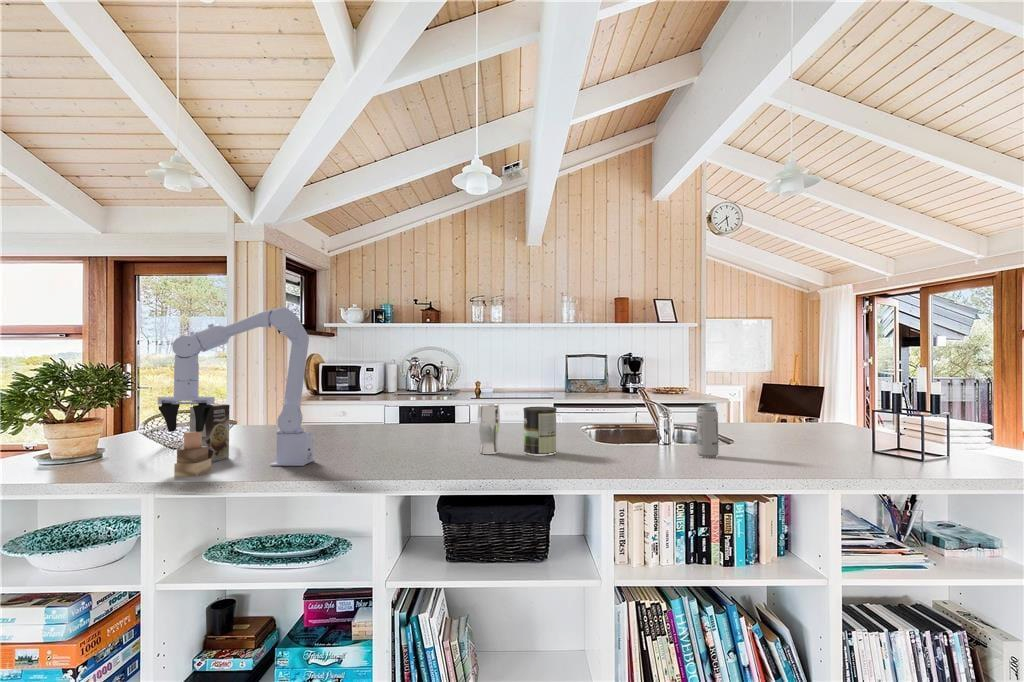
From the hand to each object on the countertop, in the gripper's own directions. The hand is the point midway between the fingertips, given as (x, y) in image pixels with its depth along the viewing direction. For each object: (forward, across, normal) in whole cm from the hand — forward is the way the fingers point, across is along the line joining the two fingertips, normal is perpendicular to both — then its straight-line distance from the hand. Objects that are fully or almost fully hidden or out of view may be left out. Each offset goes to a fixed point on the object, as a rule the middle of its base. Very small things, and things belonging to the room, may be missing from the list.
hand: (185, 431), depth 146 cm
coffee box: (+11, +2, -14) cm, 18 cm away
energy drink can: (+11, -145, -24) cm, 147 cm away
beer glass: (+11, -79, -28) cm, 84 cm away
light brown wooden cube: (+4, -5, +4) cm, 7 cm away
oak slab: (+11, -4, +4) cm, 12 cm away
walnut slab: (+7, -4, +4) cm, 9 cm away
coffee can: (+11, -95, -28) cm, 100 cm away
